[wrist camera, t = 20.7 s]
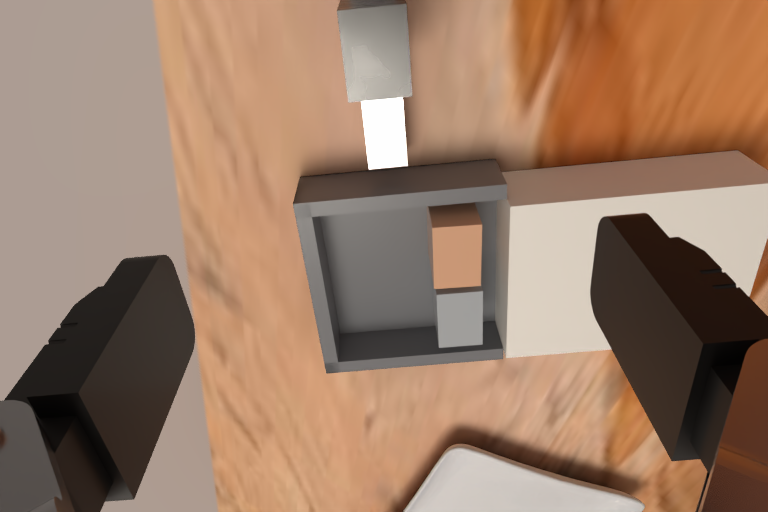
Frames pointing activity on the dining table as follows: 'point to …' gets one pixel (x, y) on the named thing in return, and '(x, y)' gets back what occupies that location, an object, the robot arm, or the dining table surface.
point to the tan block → (454, 245)
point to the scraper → (378, 73)
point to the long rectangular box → (579, 230)
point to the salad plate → (509, 487)
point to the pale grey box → (458, 315)
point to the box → (390, 261)
